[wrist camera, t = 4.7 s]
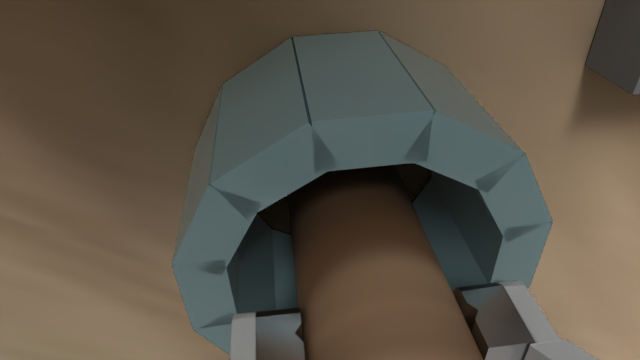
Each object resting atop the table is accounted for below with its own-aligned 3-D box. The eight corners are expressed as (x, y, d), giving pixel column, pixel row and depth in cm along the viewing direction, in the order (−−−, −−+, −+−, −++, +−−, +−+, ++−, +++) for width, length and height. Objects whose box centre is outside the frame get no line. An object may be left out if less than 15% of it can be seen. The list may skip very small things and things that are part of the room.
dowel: (280, 126, 14) (336, 696, 5) (391, 115, 14) (667, 636, 5) (288, 212, 16) (340, 728, 7) (385, 202, 17) (570, 684, 7)
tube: (169, 45, 12) (129, 137, 8) (491, 21, 13) (598, 95, 9) (223, 274, 18) (215, 397, 14) (449, 248, 18) (503, 358, 14)
